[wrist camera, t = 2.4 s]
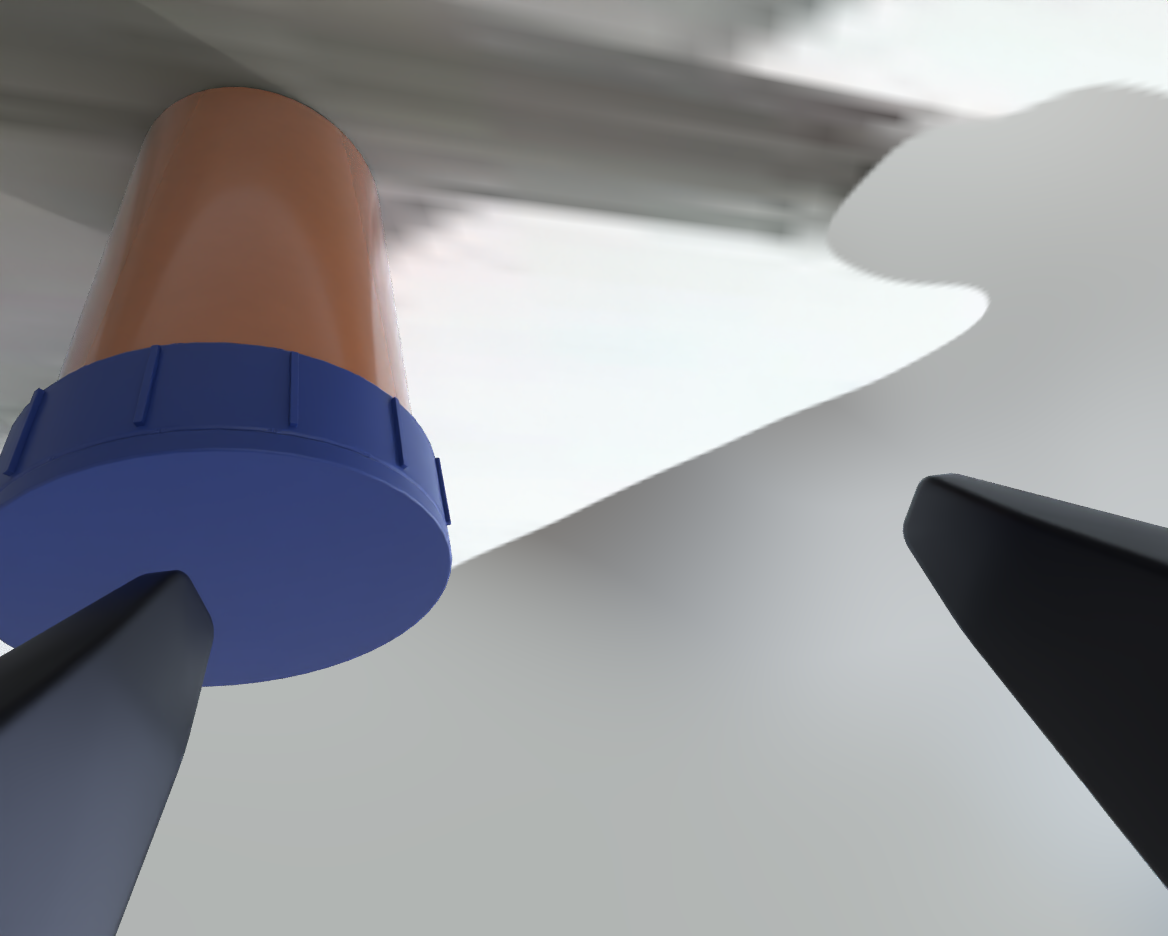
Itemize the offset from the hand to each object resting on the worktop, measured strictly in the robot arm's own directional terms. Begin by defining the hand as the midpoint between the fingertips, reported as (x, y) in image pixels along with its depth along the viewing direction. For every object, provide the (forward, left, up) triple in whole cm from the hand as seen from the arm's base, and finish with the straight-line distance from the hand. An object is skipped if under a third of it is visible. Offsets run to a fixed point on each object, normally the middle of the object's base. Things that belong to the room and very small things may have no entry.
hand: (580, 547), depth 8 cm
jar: (-4, -4, -16) cm, 17 cm away
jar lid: (-4, -4, -3) cm, 7 cm away
